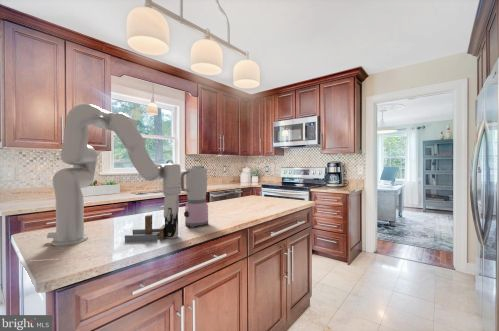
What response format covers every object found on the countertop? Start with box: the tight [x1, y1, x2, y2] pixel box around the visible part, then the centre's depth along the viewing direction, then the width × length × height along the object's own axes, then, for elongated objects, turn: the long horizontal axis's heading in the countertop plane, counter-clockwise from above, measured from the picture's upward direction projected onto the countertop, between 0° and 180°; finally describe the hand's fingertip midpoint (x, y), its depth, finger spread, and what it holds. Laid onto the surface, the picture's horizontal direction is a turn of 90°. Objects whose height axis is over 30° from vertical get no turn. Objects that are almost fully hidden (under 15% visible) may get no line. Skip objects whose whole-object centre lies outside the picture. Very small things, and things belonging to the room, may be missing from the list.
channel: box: [124, 228, 160, 243], centre depth 105 cm, size 13×10×3 cm
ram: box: [144, 214, 166, 241], centre depth 106 cm, size 8×7×10 cm
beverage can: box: [164, 211, 179, 240], centre depth 107 cm, size 6×6×12 cm
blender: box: [181, 165, 209, 229], centre depth 127 cm, size 16×12×32 cm
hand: (172, 229), depth 107 cm, fingers open, 7 cm apart
